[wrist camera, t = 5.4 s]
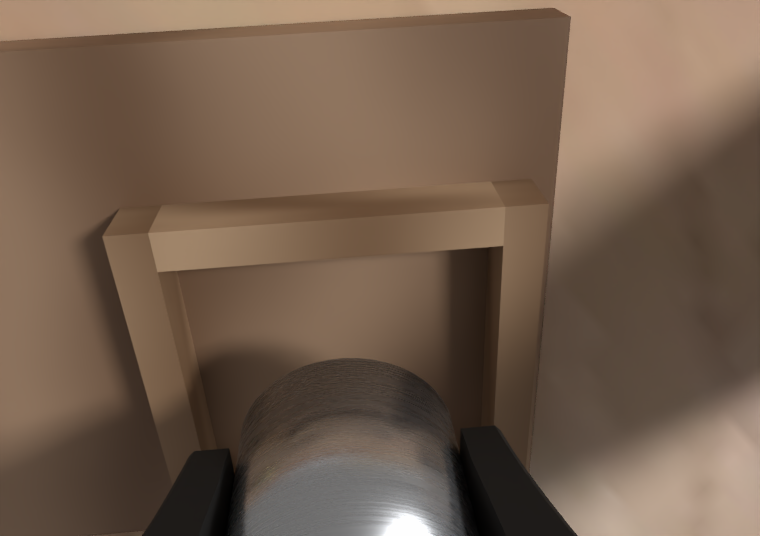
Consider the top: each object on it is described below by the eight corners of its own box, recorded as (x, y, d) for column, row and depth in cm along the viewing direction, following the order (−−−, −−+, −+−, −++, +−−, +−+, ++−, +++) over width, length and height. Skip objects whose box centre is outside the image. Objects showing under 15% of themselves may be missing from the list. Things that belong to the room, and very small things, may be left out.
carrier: (-152, 526, 18) (-209, 604, 16) (-451, 69, 12) (-600, 104, 10) (517, 466, 19) (539, 533, 17) (553, 7, 13) (595, 29, 11)
